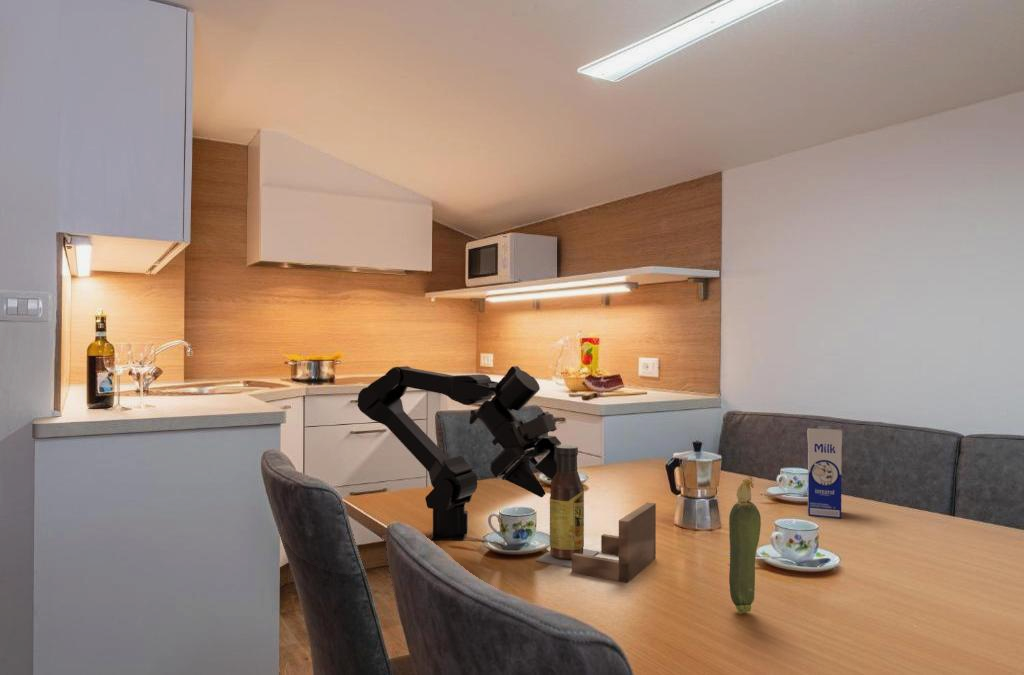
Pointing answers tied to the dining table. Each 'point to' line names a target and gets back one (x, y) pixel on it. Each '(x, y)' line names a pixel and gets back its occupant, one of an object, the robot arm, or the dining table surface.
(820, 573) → the dining table surface
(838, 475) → the milk carton
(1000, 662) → the dining table surface
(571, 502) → the sauce bottle
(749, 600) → the vegetable
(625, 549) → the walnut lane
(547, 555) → the mat
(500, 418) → the robot arm
